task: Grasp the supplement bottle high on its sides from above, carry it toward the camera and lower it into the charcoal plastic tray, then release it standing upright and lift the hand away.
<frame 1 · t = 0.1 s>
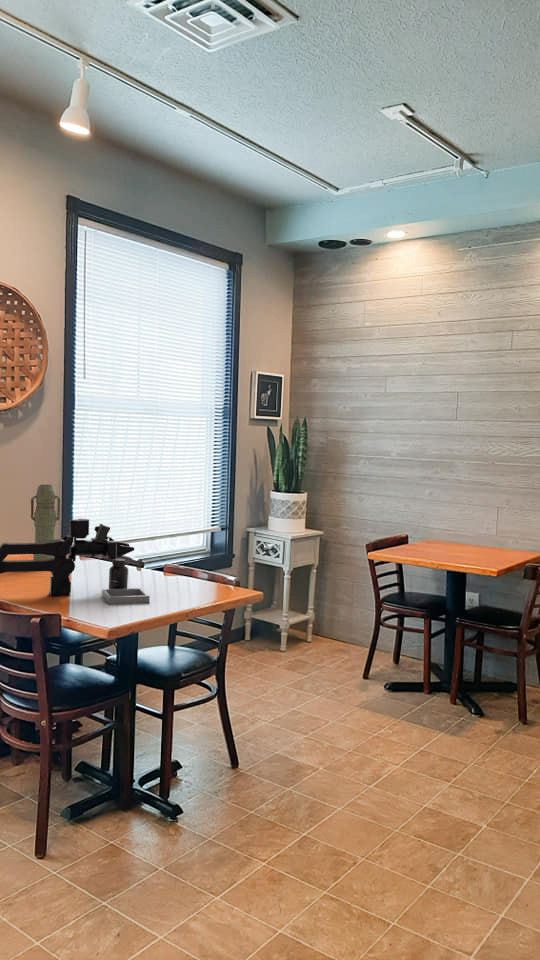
hand: (131, 547, 284), 17 cm above the table, tool horizontal, fingers open, 9 cm apart
thermos: (44, 566, 331), on the table
tray: (125, 599, 271), on the table
supplement bottle: (118, 592, 284), on the table
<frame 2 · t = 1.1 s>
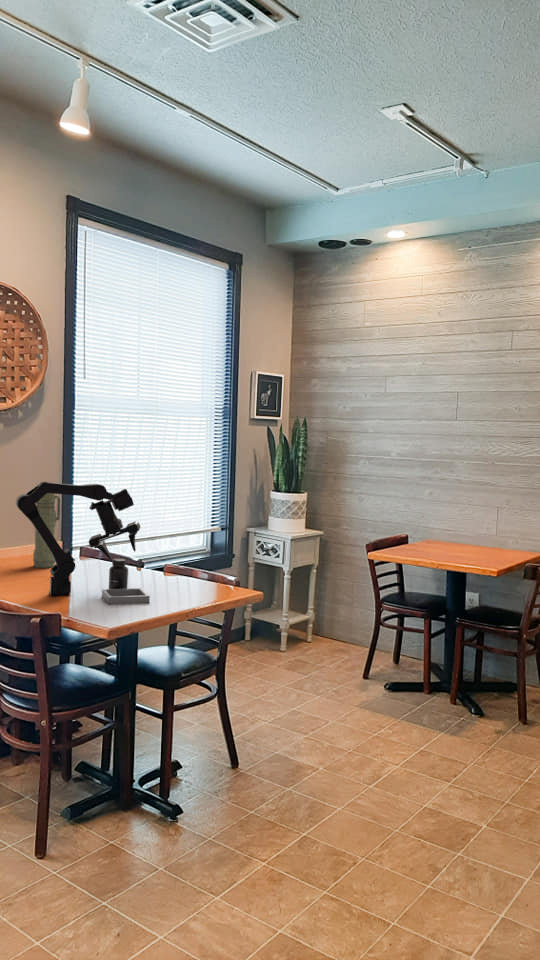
hand: (123, 555, 284), 13 cm above the table, tool tilted 25°, fingers open, 9 cm apart
nothing on the table moved.
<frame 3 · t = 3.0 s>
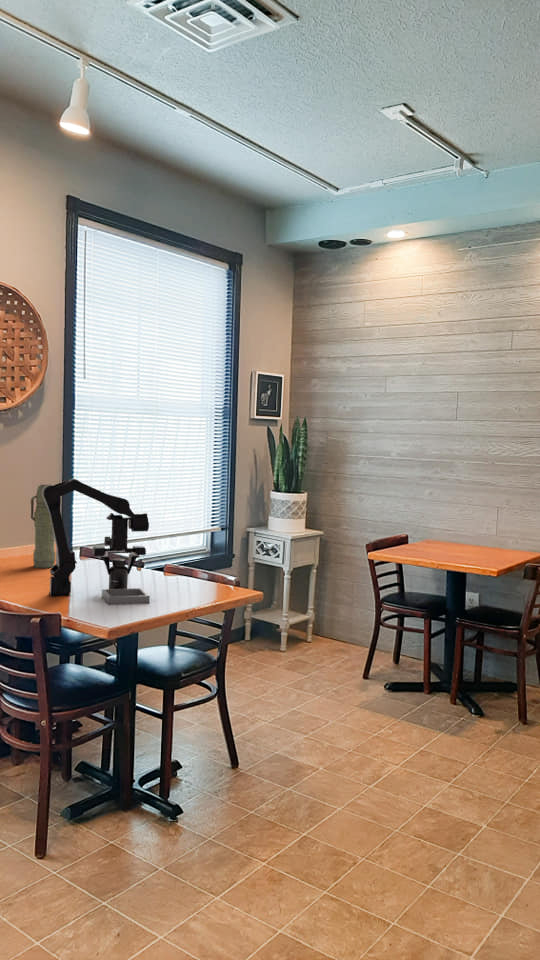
hand: (118, 574, 284), 7 cm above the table, tool pointing down, fingers closed on supplement bottle, 7 cm apart
supplement bottle: (118, 592, 284), on the table, touching gripper
everything else where it was.
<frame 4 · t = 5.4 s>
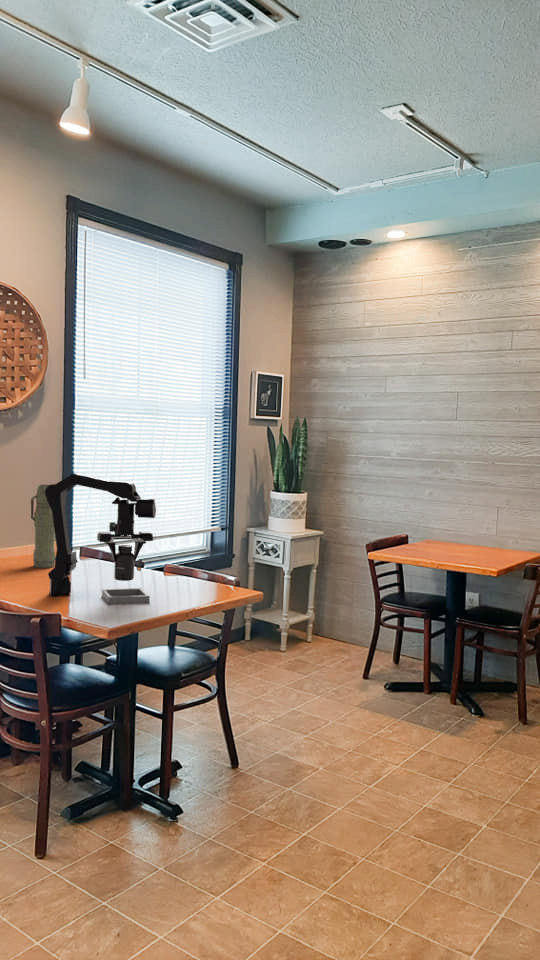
hand: (124, 560, 274), 13 cm above the table, tool pointing down, fingers closed on supplement bottle, 7 cm apart
supplement bottle: (124, 579, 274), point 6 cm above the table, touching gripper
everything else where it was.
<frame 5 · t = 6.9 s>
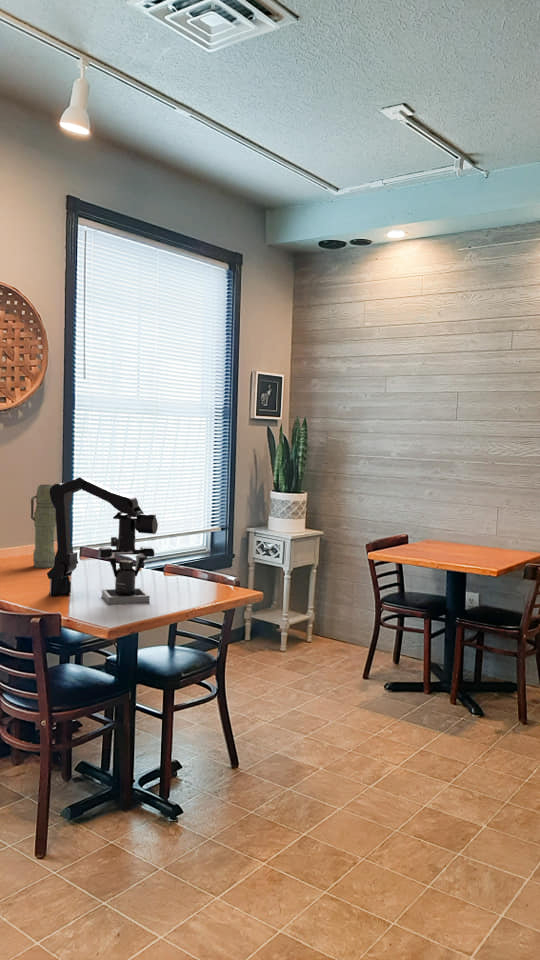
hand: (125, 576, 271), 8 cm above the table, tool pointing down, fingers closed on supplement bottle, 7 cm apart
supplement bottle: (124, 595, 271), point 1 cm above the table, touching gripper
everything else where it was.
when the fingers open (8 cm above the table, at t = 7.8 s): supplement bottle drops 1 cm, resting on tray.
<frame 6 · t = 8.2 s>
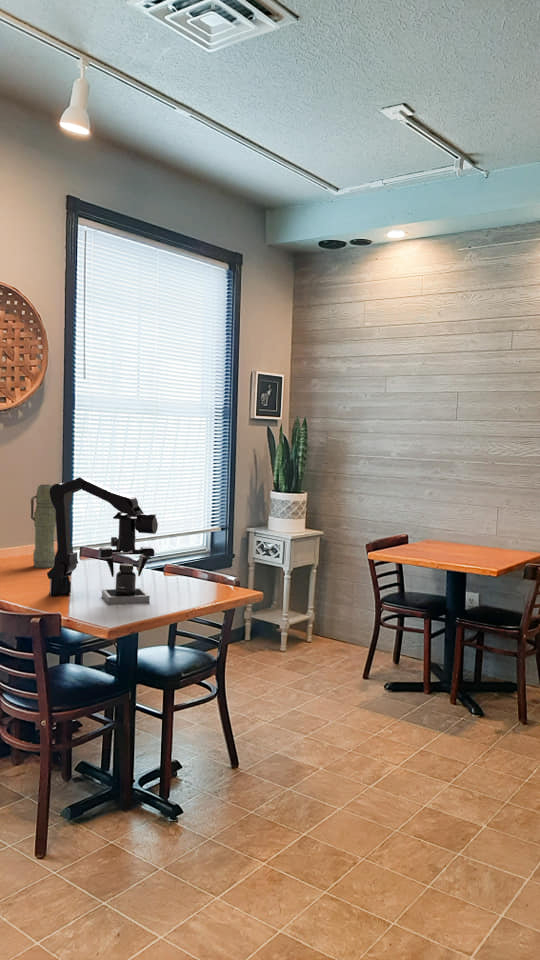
hand: (125, 576, 271), 8 cm above the table, tool pointing down, fingers open, 9 cm apart
supplement bottle: (125, 599, 271), resting on tray
everything else where it was.
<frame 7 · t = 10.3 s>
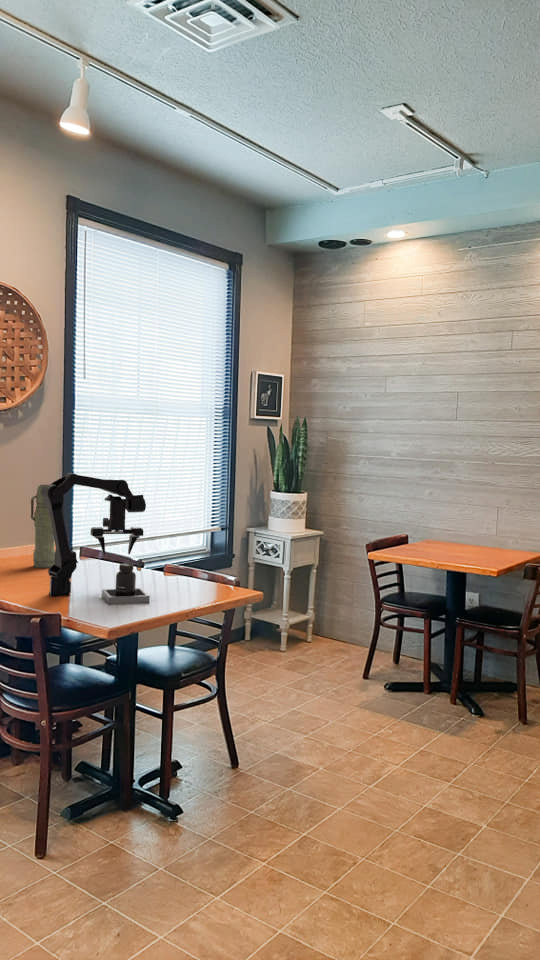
hand: (116, 554, 288), 13 cm above the table, tool pointing down, fingers open, 9 cm apart
nothing on the table moved.
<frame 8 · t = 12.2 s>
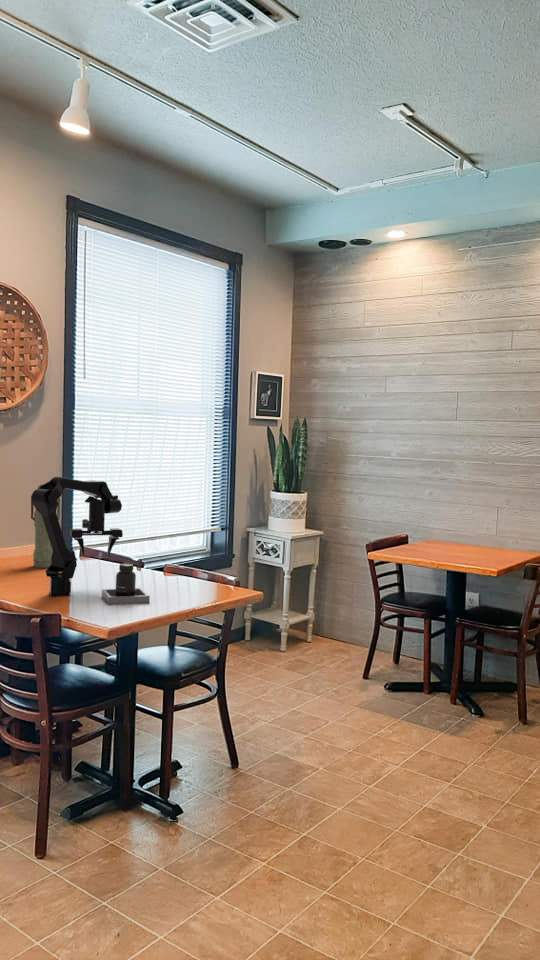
hand: (95, 555, 289), 12 cm above the table, tool pointing down, fingers open, 9 cm apart
nothing on the table moved.
at the end: supplement bottle inside the target area on the tray (0.1 cm from its centre), point 0.2 cm above the tray's base; supplement bottle tilted 0°; the gripper is holding nothing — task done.
